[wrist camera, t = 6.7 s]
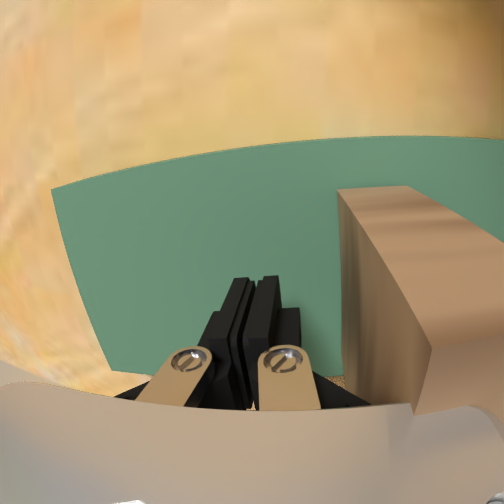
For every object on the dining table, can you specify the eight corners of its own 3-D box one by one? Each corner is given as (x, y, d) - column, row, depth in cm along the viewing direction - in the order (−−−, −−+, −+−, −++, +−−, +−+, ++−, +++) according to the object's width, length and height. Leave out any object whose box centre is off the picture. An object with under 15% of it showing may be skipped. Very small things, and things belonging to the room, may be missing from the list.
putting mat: (82, 179, 17) (51, 189, 14) (581, 150, 11) (607, 157, 8) (130, 345, 21) (111, 370, 18) (560, 304, 15) (580, 322, 12)
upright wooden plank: (336, 189, 12) (431, 349, 3) (417, 185, 12) (600, 303, 2) (340, 351, 15) (356, 543, 6) (406, 344, 14) (462, 519, 5)
